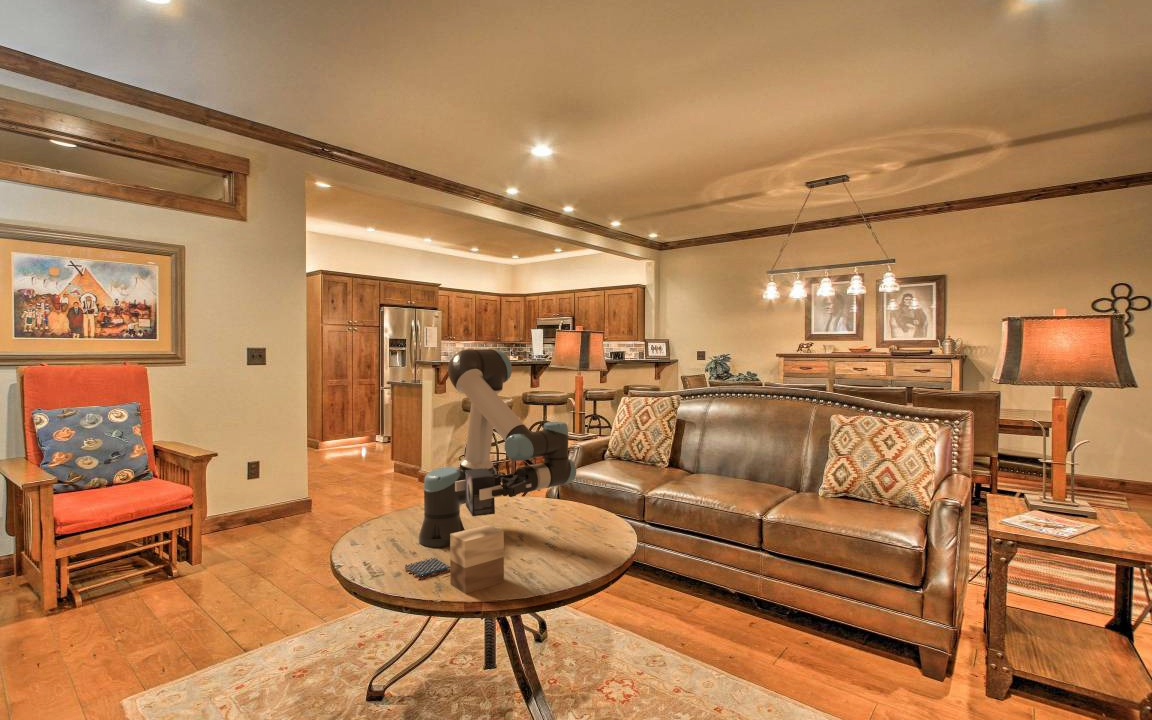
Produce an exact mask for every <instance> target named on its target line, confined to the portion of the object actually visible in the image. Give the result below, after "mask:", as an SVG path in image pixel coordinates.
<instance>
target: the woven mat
mask: <svg viewBox="0 0 1152 720" xmlns="http://www.w3.org/2000/svg"><path fill="white" fill-rule="evenodd" d="M404 570H405V572H408V571H409V573H412V574H414V575H412V577H413V578H417V579H418V581H420V580H419V579H421V580H424V578H425V579H428V578H431V577H430V576H432V577H435V576H438V575H437V574H439V575H442V574H445V572H446V573H449V572H450V565H448V564H447V563H445V562H443V561H442V560H440V559H438V558H437V557H434V558H433V557H431V558H428V559H425V560H421V561H418V562H417V561H416V562H414V563H412V562H411V563H410V564H405V567H404ZM448 571H449V572H448ZM409 573H408V574H409ZM441 573H442V574H441ZM422 575H423V576H422ZM427 577H428V578H427ZM417 579H416V580H417Z"/></svg>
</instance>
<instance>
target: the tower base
mask: <svg viewBox="0 0 1152 720" xmlns="http://www.w3.org/2000/svg"><path fill="white" fill-rule="evenodd" d="M449 561H450V565H449V566H450V575H449V576H450V582H449V583H450V584H451V586H452V587H454V588H456V590H459V591H460V592H461V593H463V594H465V595H467V594H470V593H472V592H473V591H474V592H475V591H479V590H482V589H485V588H489V587H492V586H495V585H497V584H501V583H504V582H505V556H504V557H502V558H499V559H495V560H492V561H488V562H485V563H481V564H478V565H474V566H471V567H467V568H464V567H462V566H461V565H459V564H457V563H455V562H454V561H452V560H450V559H449ZM450 584H449V585H450Z"/></svg>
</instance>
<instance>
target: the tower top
mask: <svg viewBox="0 0 1152 720" xmlns="http://www.w3.org/2000/svg"><path fill="white" fill-rule="evenodd" d="M504 537H505V531H503V530H501V529H499V528H497V527H494V526H492V525H489V524H487V525H483V526H478V527H474V528H469V529H464V531H460V532H456V533H452V534H450V546H449V548H450V549H449V558H450V559H449V561H450V560H452V561H454V562H455V563H457V564H459V565H461V566H462V567H464V568H467V567H471V566H474V565H478V564H481V563H485V562H488V561H492V560H495V559H499V558H502V557H504V558H505V545H504V544H505V540H504V539H505V538H504Z"/></svg>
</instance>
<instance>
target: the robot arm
mask: <svg viewBox="0 0 1152 720" xmlns="http://www.w3.org/2000/svg"><path fill="white" fill-rule="evenodd" d="M512 367H513V366H512V363H511V360H510V358H509V356H508V355H507V353H506V352H504V351H502V350H501V349H500V350H499V349H493V348H482V349H481V348H480V349H479V348H477V349H476V348H475V349H472V348H470V349H469V348H467V349H462V350H460V351H458V352H457V353H455V354H454V355H453V356H452V358H451V359H450V360H449V363H448V368H447V374H448V377H449V381H450V383H451V384H452V386H453V387H454V389H456V391H457V392H458V393H460V394H464V395H465V396H466V397H467V399H469V401H470V402H471V403H470V412H469V420H468V428H467V439H466V444H465V445H466V446H465V455H464V456H465V457H463V458H462V459H461V460H460V461H459V468H458V467H455V466H445V467H439V468H436V469H433V470H431V471H429V472H428V473H426V474H425V476H424V480H423V481H424V482H423V498H424V499H423V500H424V501H423V503H424V504H423V505H424V506H423V507H424V508H423V512H424V514H423V516H424V517H423V518H424V519H423V521H422V523H421V527H420V530H419V534H418V543H419V544H420V545H422V546H426V547H429V548H431V547H432V548H445V547H450V534H452V533H456V532H460V531H464V530H465V527H464V523H463V522H462V521H463V520H462V518H461V509H460V508H461V505H466V486H465V470H471V469H480V468H487V469H488V470H489V471H490V472H491V473H492V474H493V475H494V487H490V488H485V489H480V490H479V500H485V499H490V498H494V499H495V498H498V497H502V496H503V497H509V498H513V497H515V496H518V495H520V494H527V493H530V492H534V491H538V492H541V490H543V489H548V488H551V487H552V488H553V487H559V486H564V485H566V484H569V483H573V481H574V480H575V478H576V476H577V468H576V465H575V463H574V461H573V460H571V459H569V438H570V437H569V426H568V424H567V422H564V421H547V422H545V423H543V429H542V430H538V431H537V430H536V431H531V430H530V429H529V427H527V426H526V425H525V424H524V423H523V421H522V420H521V419H520V418H519V417H518V416H517V414H516V413H515V412H514V411H513V410H512V409H511V408H510V407H509V406H508V405H507V403H506V402H505V401H504V400H503V398H501V397H500V396H499V395H498V394H499V393H501V392H502V391H503V387H504V386H503V385H504V384H505V383H506V382H508V380H509V379H511V376H512V371H513V368H512ZM494 430H495V432H496V433H498V435H499V436H500V437H501V438H502V440H504V451H505V454H506V457H507V458H508V459H510V460H511V461H514V462H519V461H527V460H528V461H529V460H530V459H531V460H532V459H535V458H539V457H543V461H544V462H542V463H535V464H530V465H525V466H519V467H518V468H516V469H515V472H514V473H507V474H506V473H505V472H502V473H500V472H499V473H498V471H497V470H496V468H495V466H494V463H493V461H491V459H490V458H491V450H492V442H493V441H492V440H493V434H494Z"/></svg>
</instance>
